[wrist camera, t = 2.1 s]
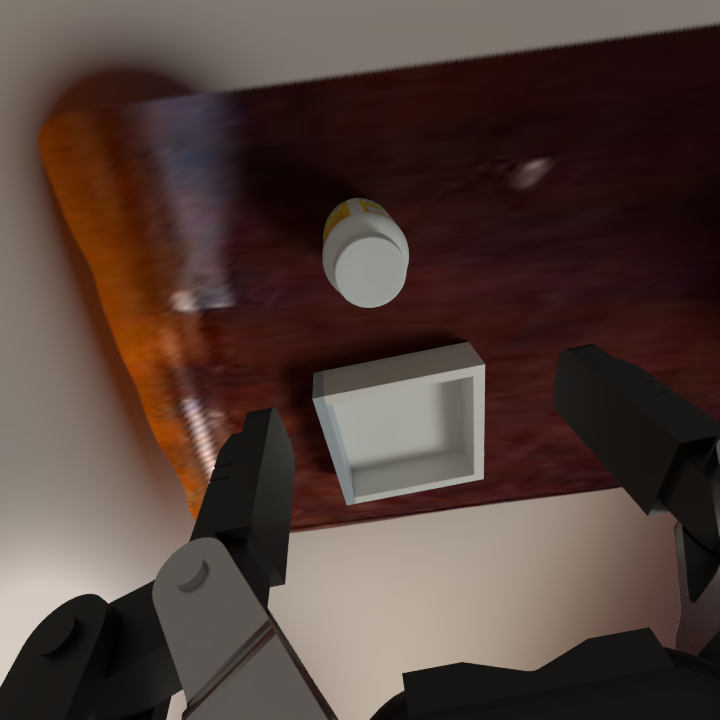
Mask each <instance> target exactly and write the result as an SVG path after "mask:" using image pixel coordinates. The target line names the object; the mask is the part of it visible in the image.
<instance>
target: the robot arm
mask: <svg viewBox="0 0 720 720" xmlns="http://www.w3.org/2000/svg"><path fill="white" fill-rule="evenodd" d="M553 399H554V404H555V407H556V409H557V411H558V413H559V414H560V415H561V417H562V418H563V419H564V420H565V421H566V422H567V424H568V425H569V426H570V427H571V428H572V429H573V431H574V432H575V433H576V434H577V435H578V436H579V437H580V439H581V440H582V441H583V442H584V443H585V444H586V445H587V447H588V448H589V449H590V450H591V451H592V452H593V454H594V455H595V456H596V457H597V458H598V459H599V460H600V462H601V463H602V464H603V465H604V466H605V467H606V469H607V470H608V471H609V472H610V473H611V474H612V475H613V477H614V478H615V479H616V480H617V481H618V482H619V483H620V485H621V486H622V487H623V488H624V489H625V490H626V492H627V493H628V494H629V495H630V496H631V497H632V498H633V500H634V501H635V502H636V503H637V504H638V505H639V506H640V508H641V509H642V510H643V511H644V512H645V513H646V515H647V516H652V515H657V514H663V513H668V512H671V513H672V514H673V515H674V517H675V518H676V519H677V520H678V521H677V523H676V525H675V530H674V532H675V544H676V557H677V569H678V581H679V594H680V620H679V625H678V629H677V633H676V639H675V650H674V649H670V648H666V647H662V645H661V644H660V642H659V641H658V639H657V638H656V636H655V635H654V633H653V632H652V630H651V629H650V628H644V629H638V630H633V631H627V632H622V633H616V634H611V635H606V636H600V637H595V638H590V639H587V640H585V641H584V642H582V643H581V644H579V645H577V646H576V647H574V648H572V649H571V650H569V651H567V652H566V653H564V654H563V655H561V656H559V657H558V658H556V659H554V660H553V661H551V662H549V663H548V664H546V665H545V666H543V667H541V668H540V669H538V670H535V671H521V670H514V669H507V668H500V667H493V666H486V665H478V664H472V663H464V662H461V663H455V664H450V665H444V666H439V667H434V668H428V669H423V670H418V671H412V672H407V673H402V676H403V682H404V689H405V690H404V691H403V692H401V693H399V694H397V695H396V696H394V697H393V698H391V699H390V700H389V701H388V702H387V703H385V704H384V705H383V706H382V707H381V708H380V709H379V710H378V711H377V712H376V713H375V714H374V715H373V716H372V718H371V719H370V720H720V423H718V422H717V421H716V420H714V419H713V418H711V417H710V416H709V415H707V414H706V413H704V412H703V411H702V410H700V409H699V408H697V407H696V406H694V405H693V404H692V403H690V402H689V401H687V400H686V399H685V398H683V397H682V396H680V395H679V394H678V393H676V392H675V393H673V392H672V389H671V388H669V387H668V386H666V385H665V384H663V383H662V382H658V381H657V379H656V378H655V377H654V376H652V375H651V374H649V373H648V372H647V371H645V370H644V369H642V368H641V367H639V366H637V365H634V364H632V363H629V362H627V361H624V360H622V359H619V358H613V357H612V356H610V355H609V354H608V353H606V352H605V351H604V350H602V349H601V348H599V347H598V346H596V345H594V344H589V345H584V346H579V347H574V348H569V349H564V350H562V351H561V352H560V354H559V357H558V364H557V371H556V378H555V384H554V391H553ZM214 467H215V469H214V470H213V472H212V475H211V478H210V484H208V487H207V490H206V493H205V496H204V499H203V502H202V505H201V508H200V511H199V514H198V517H197V520H196V523H195V527H194V529H193V532H192V536H191V538H190V541H189V543H187V544H185V545H184V546H182V547H181V548H179V549H178V550H177V551H176V552H175V553H173V554H172V556H171V557H170V558H169V559H168V560H167V561H166V562H165V563H164V565H163V566H162V568H161V569H160V571H159V573H158V575H157V577H156V579H155V580H153V581H152V582H150V583H148V584H146V585H144V586H142V587H140V588H138V589H137V590H134V591H133V592H130V593H129V594H127V595H125V596H123V597H121V598H119V599H117V600H115V601H113V602H111V603H109V604H108V603H107V602H106V601H105V600H103V599H102V598H101V597H100V596H98V595H95V594H85V595H81V596H78V597H75V598H73V599H71V600H69V601H67V602H66V603H64V604H62V605H61V606H60V607H58V608H57V609H55V610H54V611H53V612H52V613H51V614H49V615H48V616H47V617H46V618H45V619H44V620H43V621H42V622H41V623H40V624H39V625H38V626H37V628H36V629H35V630H34V631H33V632H32V634H31V635H30V636H29V638H28V639H27V641H26V642H25V644H24V645H23V647H22V649H21V651H20V652H19V654H18V656H17V658H16V660H15V662H14V663H13V665H12V667H11V669H10V671H9V672H8V674H7V676H6V678H5V680H4V682H3V683H2V685H1V687H0V720H166V718H167V713H168V709H169V704H170V700H171V696H172V695H174V694H176V693H177V692H179V691H181V690H182V689H183V690H184V693H185V696H186V700H187V709H186V710H185V711H184V712H183V714H182V720H338V718H337V716H336V715H335V713H334V712H333V710H332V709H331V707H330V705H329V704H328V703H327V701H326V699H325V698H324V696H323V695H322V693H321V692H320V690H319V689H318V687H317V686H316V684H315V683H314V681H313V679H312V678H311V676H310V675H309V673H308V671H307V670H306V668H305V667H304V665H303V663H302V662H301V660H300V659H299V657H298V655H297V654H296V652H295V651H294V649H293V648H292V646H291V645H290V643H289V641H288V640H287V638H286V636H285V635H284V633H283V632H282V630H281V628H280V627H279V625H278V623H277V622H276V620H275V619H274V617H273V615H272V614H271V612H270V611H269V609H268V608H267V606H268V597H269V589H270V587H273V586H279V585H284V584H285V578H286V566H287V554H288V542H289V531H290V519H291V507H292V495H293V483H294V471H295V458H294V452H293V448H292V445H291V442H290V440H289V437H288V435H287V432H286V430H285V427H284V425H283V422H282V420H281V417H280V415H279V412H278V410H277V409H276V408H275V407H273V408H268V409H263V410H258V411H253V412H249V413H247V415H246V418H245V421H244V425H243V429H242V432H241V433H237V434H232V435H231V436H230V438H229V439H228V440H227V441H226V443H225V444H224V445H223V447H222V448H221V449H220V451H219V454H218V457H217V460H216V463H215V466H214Z"/></svg>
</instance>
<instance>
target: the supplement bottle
mask: <svg viewBox="0 0 720 720" xmlns="http://www.w3.org/2000/svg"><path fill="white" fill-rule="evenodd" d="M408 261H409V250H408V244H407V241H406V238H405V236H404V234H403V232H402V231H401V230H400V228H399V227H398V225H397V224H396V223H395V222H394V221H393V219H392V218H391V217H390V216H389V214H388V213H387V212H386V211H385V210H384V209H383V208H382V207H381V206H380V205H379V204H377V203H375V202H374V201H371V200H369V199H364V198H354V199H349V200H347V201H344V202H342V203H341V204H339V205H338V206H337V207H336V208H335V209H334V210H333V211H332V212H331V214H330V215H329V217H328V219H327V221H326V224H325V227H324V233H323V267H324V270H325V273H326V276H327V278H328V280H329V281H330V283H331V284H332V285H333V287H334V288H335V289H336V290H337V291H339V292H340V293H341V294H342V295H343V297H344V298H345V299H346V300H348V301H349V302H351V303H352V304H354V305H357V306H360V307H366V308H372V307H378V306H381V305H384V304H386V303H388V302H389V301H391V300H392V299H393V298H394V297H395V296H396V295H397V294H398V293H399V292H400V290H401V289H402V287H403V285H404V282H405V278H406V270H407V267H408Z"/></svg>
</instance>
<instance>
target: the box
mask: <svg viewBox="0 0 720 720" xmlns="http://www.w3.org/2000/svg"><path fill="white" fill-rule="evenodd" d="M484 398H485V364H484V362H483V361H482V360H481V358H480V357H479V355H478V354H477V353H476V351H475V350H474V349H473V347H472V346H471V344H470V343H469V342H465V343H460V344H455V345H450V346H445V347H440V348H435V349H430V350H425V351H420V352H415V353H410V354H405V355H400V356H395V357H390V358H385V359H380V360H375V361H370V362H365V363H360V364H355V365H350V366H345V367H340V368H335V369H330V370H325V371H320V372H316V373H314V374H313V397H312V399H313V402H314V405H315V408H316V411H317V414H318V418H319V421H320V424H321V427H322V430H323V433H324V436H325V439H326V442H327V445H328V448H329V451H330V454H331V458H332V461H333V464H334V467H335V470H336V473H337V476H338V479H339V482H340V485H341V488H342V491H343V494H344V498H345V501H346V504H347V505H351V504H356V503H361V502H366V501H371V500H377V499H382V498H387V497H392V496H397V495H403V494H408V493H413V492H418V491H423V490H429V489H434V488H439V487H444V486H449V485H455V484H460V483H465V482H470V481H475V480H480V479H484Z"/></svg>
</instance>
